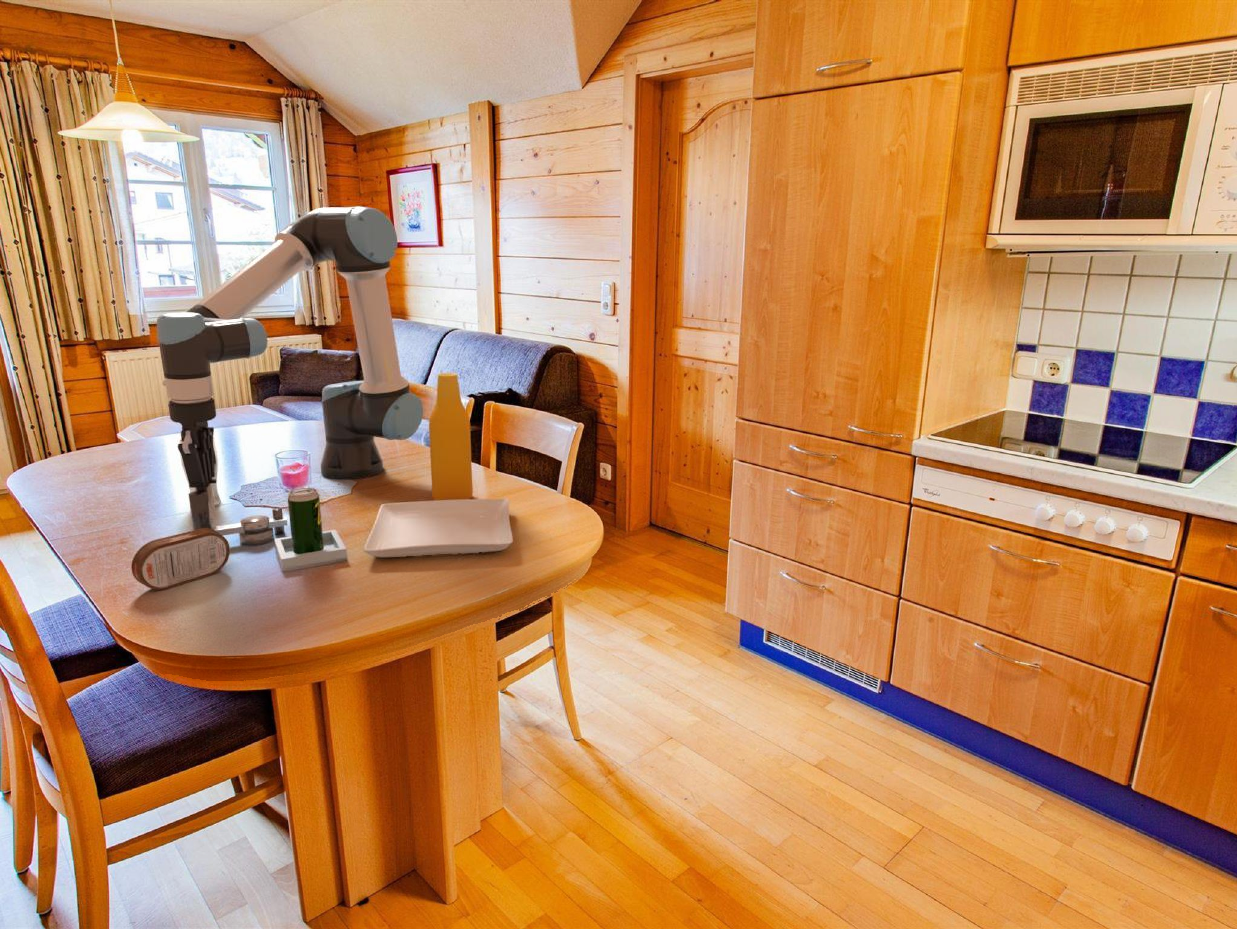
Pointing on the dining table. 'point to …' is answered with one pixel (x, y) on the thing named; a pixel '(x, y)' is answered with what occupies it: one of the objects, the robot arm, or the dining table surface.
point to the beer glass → (214, 485)
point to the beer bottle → (450, 443)
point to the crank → (247, 524)
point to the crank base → (262, 533)
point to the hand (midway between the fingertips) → (207, 517)
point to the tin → (180, 558)
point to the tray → (330, 553)
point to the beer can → (305, 520)
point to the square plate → (440, 528)
